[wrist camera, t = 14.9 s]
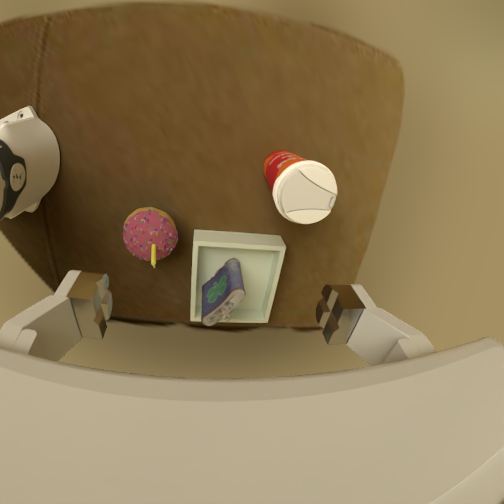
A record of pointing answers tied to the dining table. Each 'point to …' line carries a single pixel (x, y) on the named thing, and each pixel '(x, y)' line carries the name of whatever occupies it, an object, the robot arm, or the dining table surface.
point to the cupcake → (150, 234)
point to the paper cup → (300, 187)
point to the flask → (222, 293)
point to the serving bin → (252, 268)
